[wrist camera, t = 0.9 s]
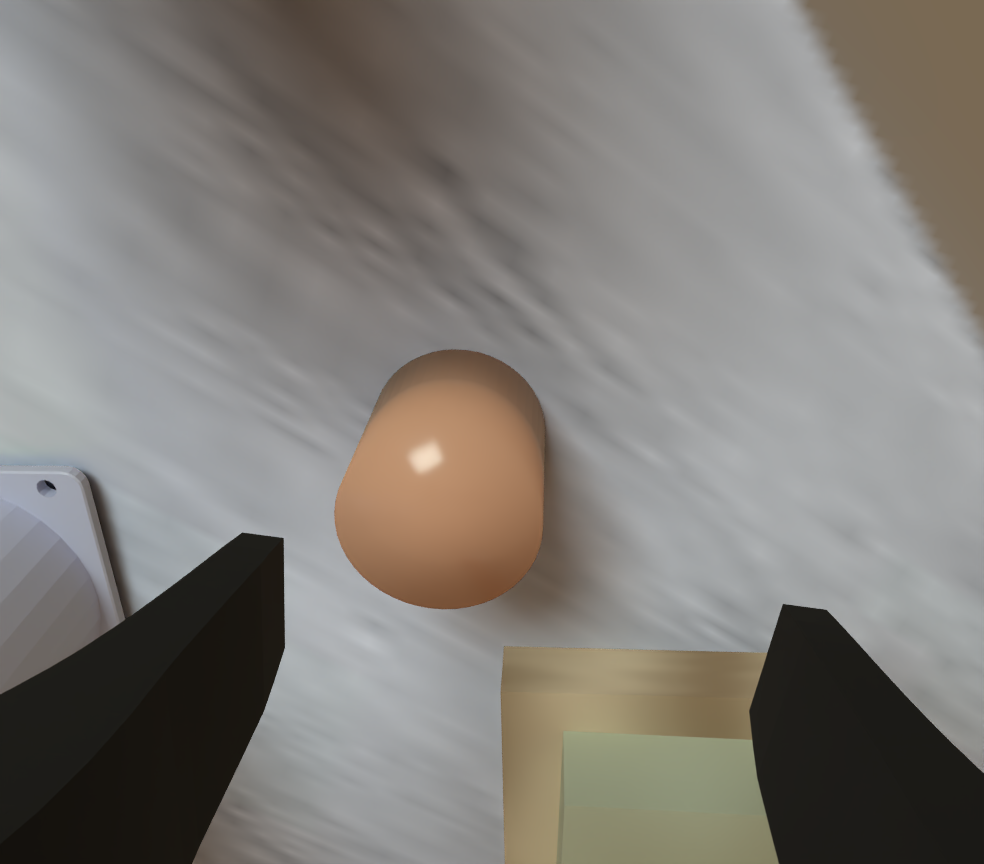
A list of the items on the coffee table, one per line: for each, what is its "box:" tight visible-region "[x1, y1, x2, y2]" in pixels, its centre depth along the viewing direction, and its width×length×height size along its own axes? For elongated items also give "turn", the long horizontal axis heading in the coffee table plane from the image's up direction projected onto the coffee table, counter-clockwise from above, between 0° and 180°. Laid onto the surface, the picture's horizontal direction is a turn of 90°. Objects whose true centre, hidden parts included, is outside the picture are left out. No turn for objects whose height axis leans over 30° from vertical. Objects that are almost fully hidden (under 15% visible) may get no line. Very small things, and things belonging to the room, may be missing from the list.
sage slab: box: [556, 731, 779, 864], centre depth 25 cm, size 7×7×2 cm
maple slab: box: [501, 646, 767, 864], centre depth 27 cm, size 10×10×2 cm
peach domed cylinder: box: [334, 349, 545, 609], centre depth 20 cm, size 4×4×4 cm
